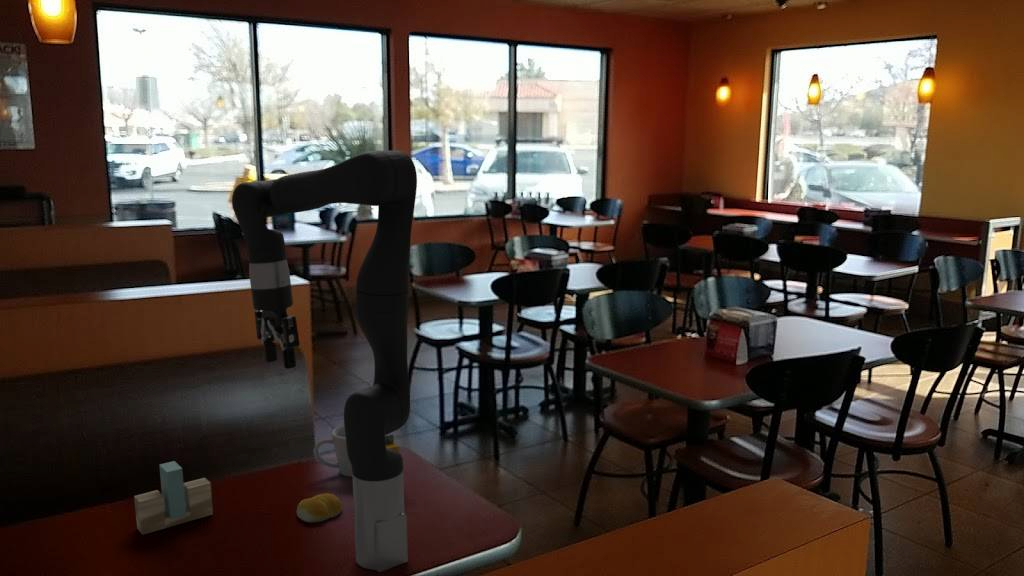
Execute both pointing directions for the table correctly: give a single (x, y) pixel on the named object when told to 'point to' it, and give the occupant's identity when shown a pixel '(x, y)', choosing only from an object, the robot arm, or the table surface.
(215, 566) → the table surface
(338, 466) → the mug
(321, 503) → the bread roll
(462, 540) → the table surface
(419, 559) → the table surface
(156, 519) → the slot plate
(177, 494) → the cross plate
